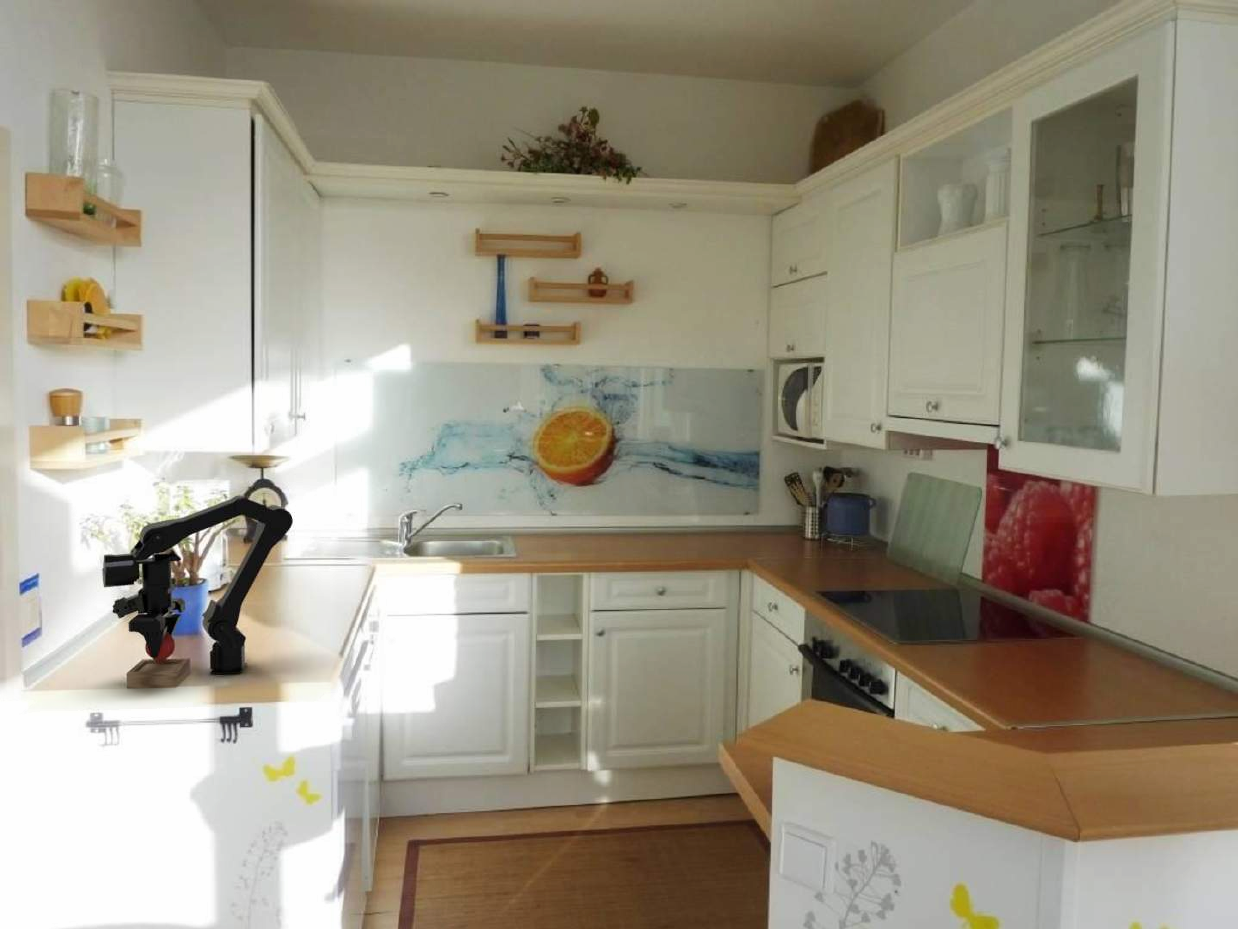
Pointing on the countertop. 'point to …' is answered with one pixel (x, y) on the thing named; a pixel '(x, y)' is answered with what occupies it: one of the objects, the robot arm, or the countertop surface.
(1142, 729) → the countertop surface
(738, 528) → the countertop surface
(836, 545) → the countertop surface
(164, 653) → the onion
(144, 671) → the brown wooden tray
